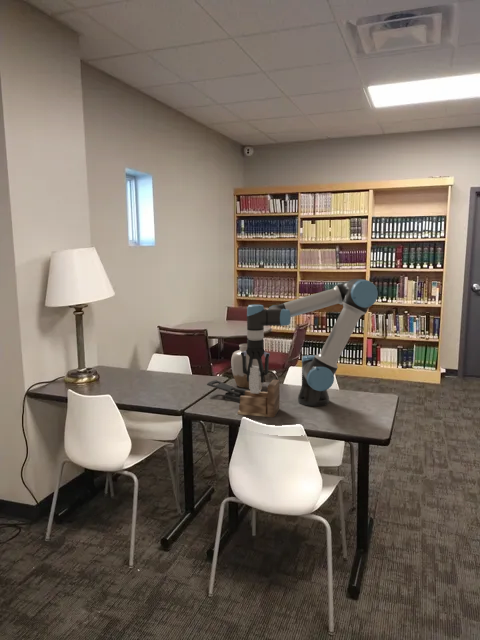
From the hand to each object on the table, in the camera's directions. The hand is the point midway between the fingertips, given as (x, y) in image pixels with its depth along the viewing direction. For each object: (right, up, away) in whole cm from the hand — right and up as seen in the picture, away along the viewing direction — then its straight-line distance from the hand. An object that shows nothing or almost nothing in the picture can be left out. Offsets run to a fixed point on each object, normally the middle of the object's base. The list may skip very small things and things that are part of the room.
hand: (255, 388), depth 218 cm
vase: (-4, -5, +45) cm, 45 cm away
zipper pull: (-12, -8, +23) cm, 27 cm away
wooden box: (+1, -11, +1) cm, 11 cm away
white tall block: (0, -2, 0) cm, 2 cm away
